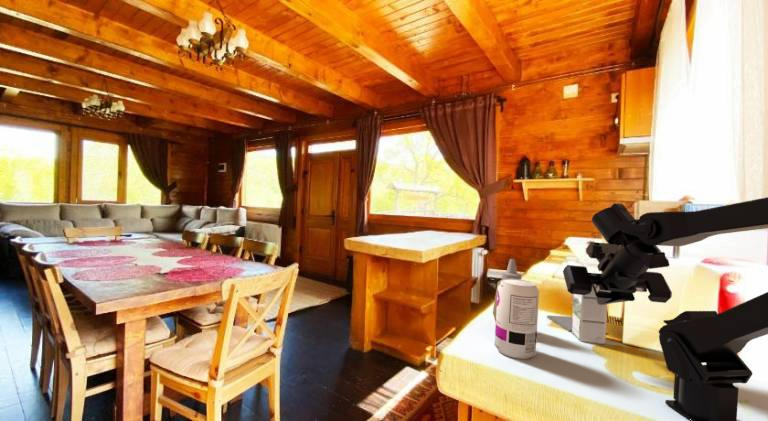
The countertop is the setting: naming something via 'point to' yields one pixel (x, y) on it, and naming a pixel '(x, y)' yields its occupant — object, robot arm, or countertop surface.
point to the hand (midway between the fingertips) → (599, 302)
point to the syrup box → (589, 318)
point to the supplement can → (516, 318)
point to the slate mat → (562, 321)
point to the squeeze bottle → (509, 274)
